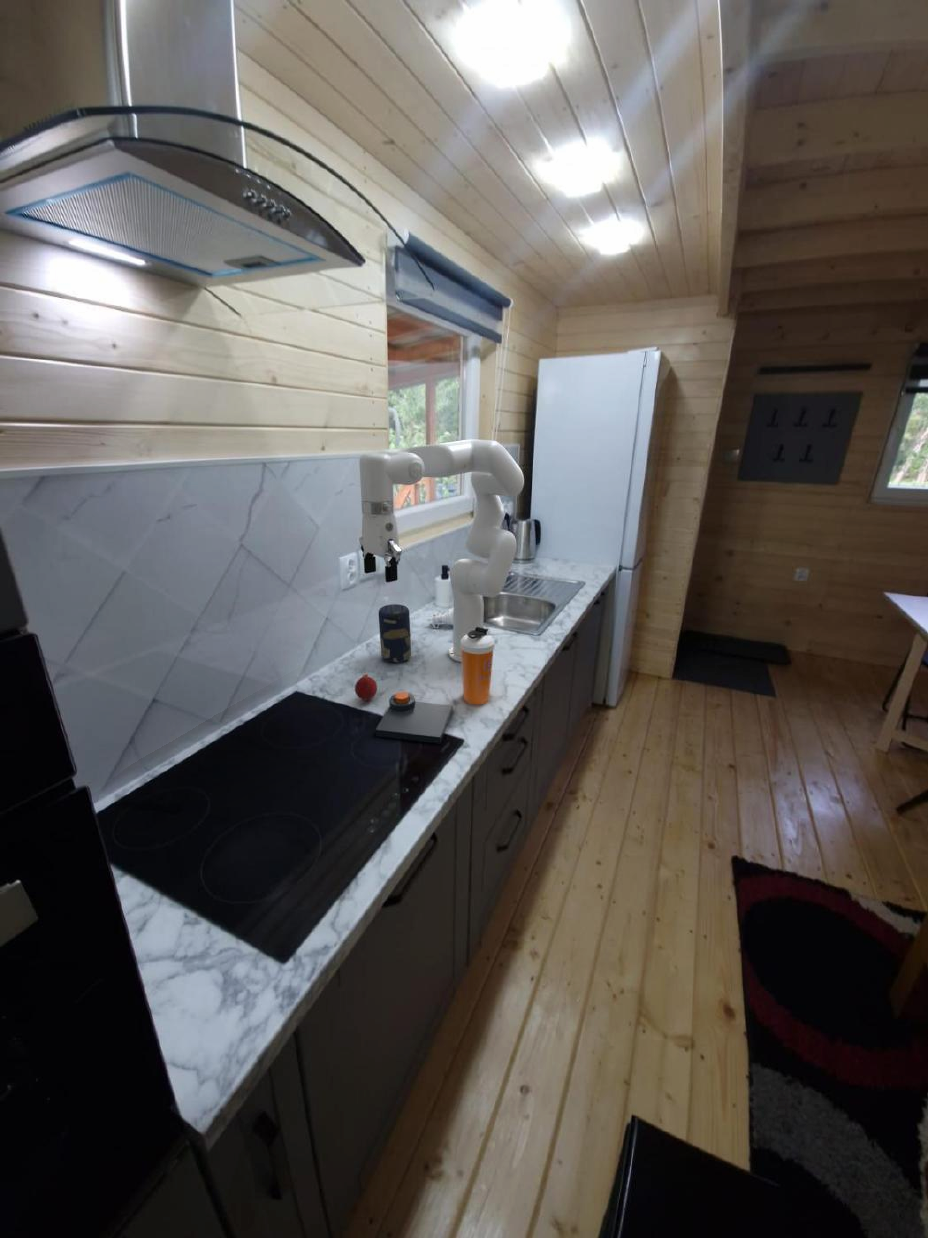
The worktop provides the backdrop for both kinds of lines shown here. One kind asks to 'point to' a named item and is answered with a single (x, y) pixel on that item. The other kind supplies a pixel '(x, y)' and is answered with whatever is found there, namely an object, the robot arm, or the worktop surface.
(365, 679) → the onion
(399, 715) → the scale
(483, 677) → the shaker bottle
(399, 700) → the button
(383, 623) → the canister
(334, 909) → the worktop surface
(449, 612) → the rocket engine
